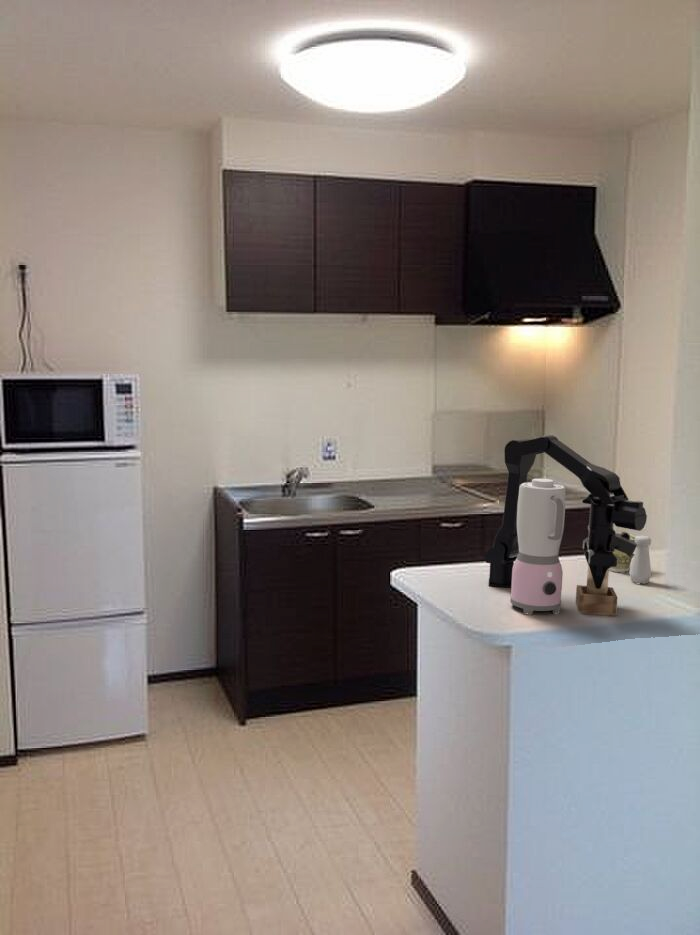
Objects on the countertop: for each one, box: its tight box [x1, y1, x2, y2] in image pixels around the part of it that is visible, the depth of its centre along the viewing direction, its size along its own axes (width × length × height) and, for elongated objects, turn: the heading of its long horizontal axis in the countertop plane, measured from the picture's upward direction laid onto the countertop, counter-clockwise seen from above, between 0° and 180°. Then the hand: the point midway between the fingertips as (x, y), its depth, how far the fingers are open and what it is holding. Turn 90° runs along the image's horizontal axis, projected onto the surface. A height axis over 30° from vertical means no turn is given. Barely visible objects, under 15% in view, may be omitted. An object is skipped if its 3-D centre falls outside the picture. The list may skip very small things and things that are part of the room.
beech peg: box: [586, 559, 610, 596], centre depth 217 cm, size 5×5×10 cm
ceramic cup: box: [609, 532, 637, 573], centre depth 257 cm, size 13×10×10 cm
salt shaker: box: [628, 534, 652, 585], centre depth 244 cm, size 6×6×13 cm
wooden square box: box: [575, 584, 618, 617], centre depth 218 cm, size 9×9×5 cm
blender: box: [510, 478, 566, 615], centre depth 214 cm, size 16×12×32 cm
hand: (596, 585), depth 218 cm, fingers closed on beech peg, 5 cm apart
